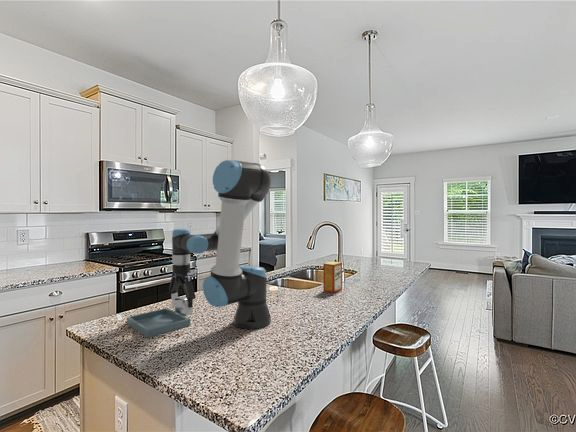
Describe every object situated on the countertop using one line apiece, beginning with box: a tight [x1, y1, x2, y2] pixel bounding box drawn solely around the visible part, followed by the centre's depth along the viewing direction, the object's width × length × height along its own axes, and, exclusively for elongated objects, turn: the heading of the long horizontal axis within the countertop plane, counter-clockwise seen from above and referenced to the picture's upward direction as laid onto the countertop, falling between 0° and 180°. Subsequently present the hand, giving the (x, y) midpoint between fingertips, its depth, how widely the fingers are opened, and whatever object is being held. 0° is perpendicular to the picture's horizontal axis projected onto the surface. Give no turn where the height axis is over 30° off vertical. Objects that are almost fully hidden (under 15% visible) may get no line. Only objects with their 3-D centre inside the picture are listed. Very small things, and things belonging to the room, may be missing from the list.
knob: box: [174, 296, 188, 317], centre depth 144 cm, size 6×6×7 cm
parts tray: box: [126, 307, 191, 339], centre depth 132 cm, size 21×17×3 cm
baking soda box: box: [322, 261, 343, 294], centre depth 183 cm, size 10×6×16 cm
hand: (181, 310), depth 144 cm, fingers open, 13 cm apart
